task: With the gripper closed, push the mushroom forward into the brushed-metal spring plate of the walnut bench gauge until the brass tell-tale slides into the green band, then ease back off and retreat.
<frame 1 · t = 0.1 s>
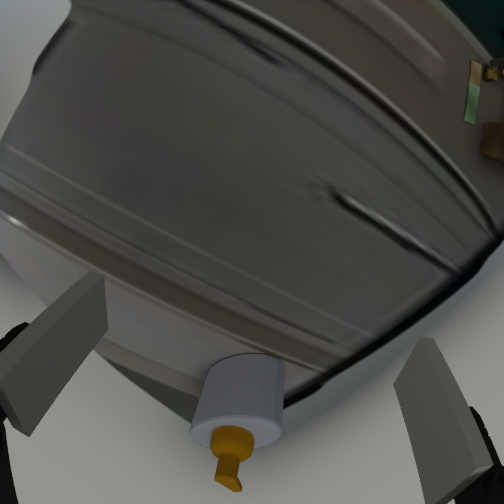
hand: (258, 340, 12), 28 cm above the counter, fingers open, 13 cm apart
soap bottle: (245, 371, 49), on the counter
telltale: (495, 74, 26), point 2 cm above the counter, slide at 0.1 cm
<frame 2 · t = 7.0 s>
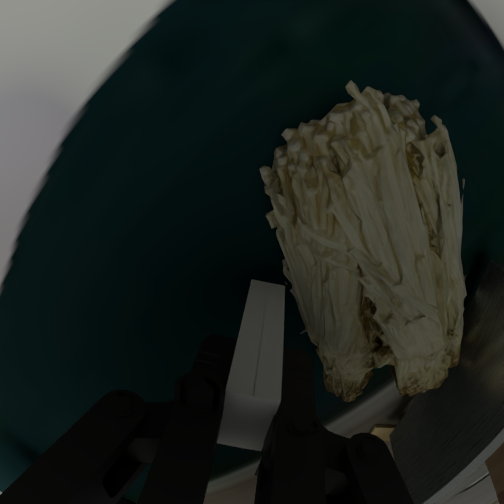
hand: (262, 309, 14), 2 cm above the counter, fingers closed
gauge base: (464, 370, 18), on the counter
mushroom: (369, 246, 15), on the counter, touching gripper, spring plate
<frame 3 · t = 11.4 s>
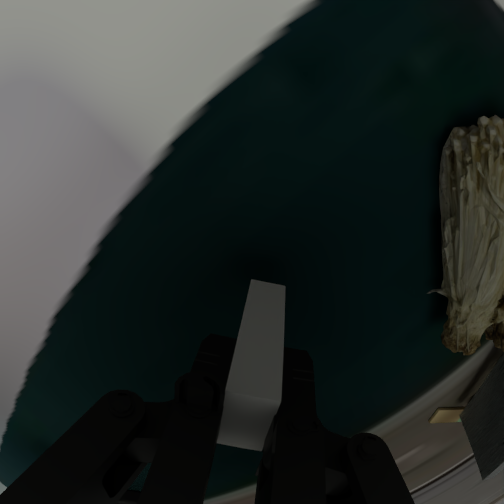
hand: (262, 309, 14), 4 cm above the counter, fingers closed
mushroom: (484, 225, 16), on the counter, touching spring plate
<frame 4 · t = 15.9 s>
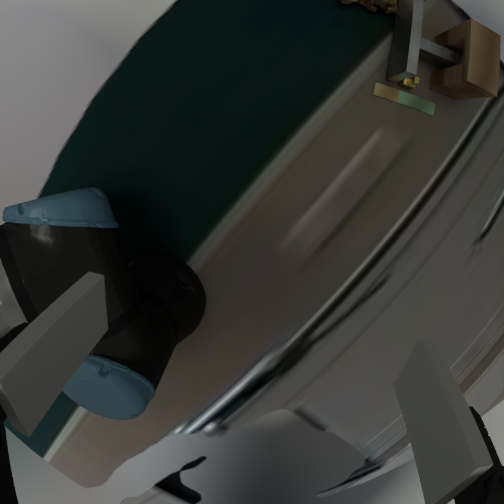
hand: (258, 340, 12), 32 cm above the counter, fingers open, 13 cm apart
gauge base: (413, 54, 32), on the counter
telltale: (410, 82, 32), point 2 cm above the counter, slide at 3.0 cm
spring plate: (438, 40, 27), point 5 cm above the counter, slide at 2.4 cm
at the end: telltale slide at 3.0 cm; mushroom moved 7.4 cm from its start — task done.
